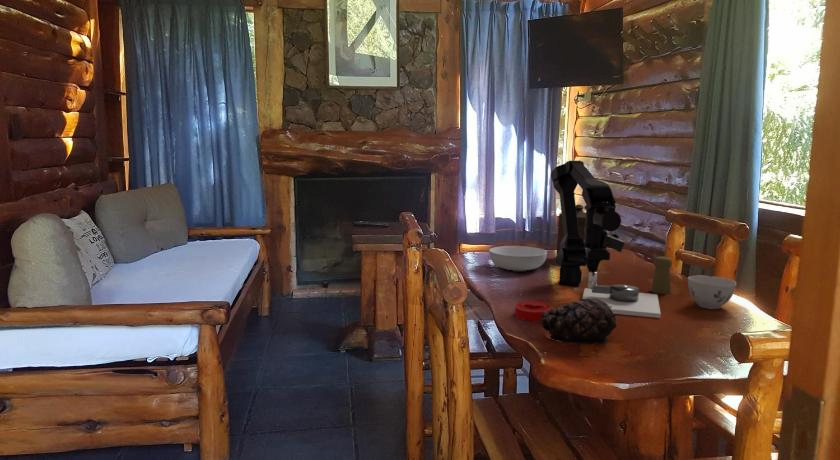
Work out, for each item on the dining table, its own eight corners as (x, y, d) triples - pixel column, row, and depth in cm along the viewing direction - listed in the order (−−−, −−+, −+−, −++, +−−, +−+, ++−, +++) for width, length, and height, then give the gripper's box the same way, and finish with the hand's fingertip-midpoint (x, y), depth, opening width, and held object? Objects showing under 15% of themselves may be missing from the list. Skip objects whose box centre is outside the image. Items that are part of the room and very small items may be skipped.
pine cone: (534, 332, 150) (536, 293, 148) (605, 332, 151) (607, 293, 149) (546, 347, 140) (547, 305, 138) (621, 346, 141) (624, 305, 139)
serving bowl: (554, 267, 223) (555, 249, 222) (533, 278, 206) (533, 258, 205) (503, 260, 234) (503, 243, 233) (478, 270, 217) (479, 251, 216)
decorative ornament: (519, 322, 158) (519, 311, 158) (511, 311, 168) (512, 300, 167) (555, 322, 159) (556, 310, 158) (546, 311, 168) (546, 300, 168)
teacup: (743, 312, 168) (745, 284, 166) (699, 313, 167) (701, 285, 166) (714, 298, 183) (717, 272, 181) (674, 298, 182) (676, 272, 181)
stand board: (579, 310, 169) (580, 304, 169) (584, 291, 189) (585, 287, 188) (660, 318, 162) (660, 312, 162) (656, 298, 182) (657, 293, 182)
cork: (672, 294, 186) (675, 259, 185) (652, 293, 188) (654, 258, 186) (669, 289, 192) (671, 255, 190) (649, 288, 193) (651, 254, 192)
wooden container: (594, 258, 240) (597, 203, 237) (596, 266, 226) (599, 207, 222) (556, 256, 243) (558, 201, 240) (556, 263, 229) (558, 206, 226)
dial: (638, 295, 179) (639, 272, 178) (638, 302, 171) (640, 278, 170) (588, 291, 183) (589, 268, 182) (586, 298, 176) (588, 274, 175)
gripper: (630, 231, 169) (626, 286, 171) (617, 222, 187) (614, 271, 189) (589, 230, 170) (586, 284, 172) (580, 221, 188) (578, 270, 191)
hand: (592, 277), depth 181 cm, fingers closed
